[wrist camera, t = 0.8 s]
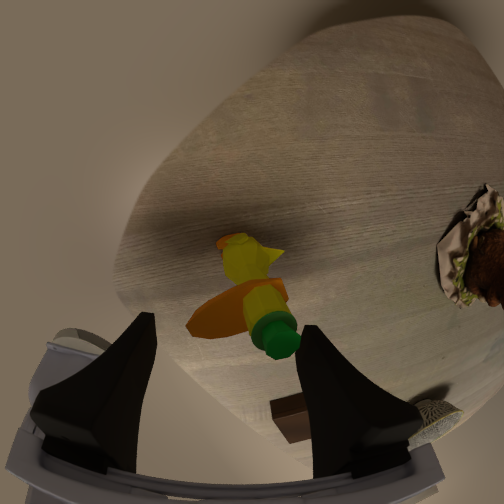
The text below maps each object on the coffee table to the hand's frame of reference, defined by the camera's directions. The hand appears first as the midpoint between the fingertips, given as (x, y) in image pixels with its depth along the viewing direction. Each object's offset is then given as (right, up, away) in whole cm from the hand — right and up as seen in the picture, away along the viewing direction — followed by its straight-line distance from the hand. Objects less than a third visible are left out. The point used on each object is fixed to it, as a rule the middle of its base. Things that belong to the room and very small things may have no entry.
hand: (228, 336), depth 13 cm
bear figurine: (+28, +4, +12) cm, 30 cm away
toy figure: (-1, +4, +9) cm, 10 cm away
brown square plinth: (+8, -19, +21) cm, 29 cm away
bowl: (+34, -27, +28) cm, 51 cm away
